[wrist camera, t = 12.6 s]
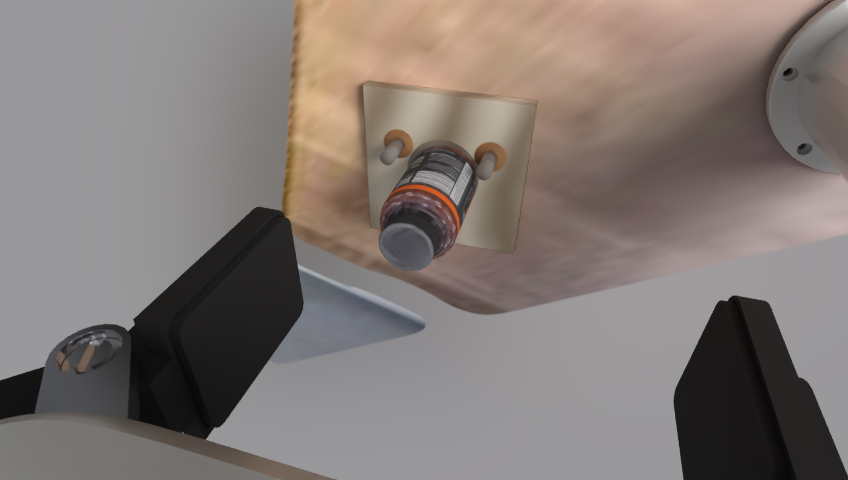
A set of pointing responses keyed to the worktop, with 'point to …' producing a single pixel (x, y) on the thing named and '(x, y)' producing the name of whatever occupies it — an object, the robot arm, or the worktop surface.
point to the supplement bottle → (427, 208)
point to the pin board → (460, 129)
